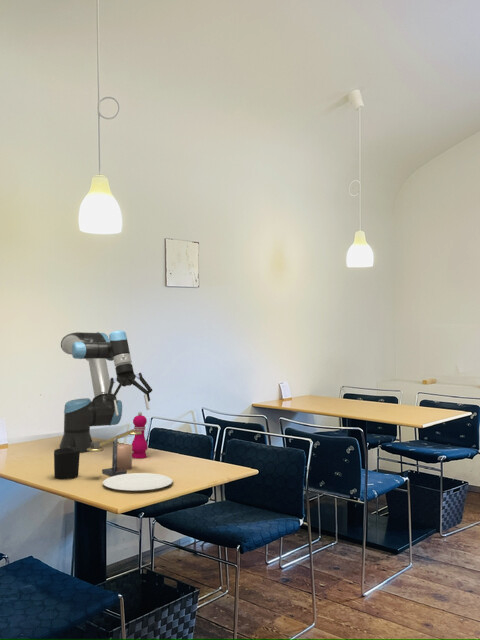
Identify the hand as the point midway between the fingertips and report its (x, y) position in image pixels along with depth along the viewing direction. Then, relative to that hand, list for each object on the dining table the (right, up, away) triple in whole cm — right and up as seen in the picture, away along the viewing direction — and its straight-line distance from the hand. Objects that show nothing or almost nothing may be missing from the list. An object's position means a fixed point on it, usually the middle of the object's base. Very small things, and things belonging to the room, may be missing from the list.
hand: (132, 412), depth 258 cm
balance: (-2, -20, -27) cm, 34 cm away
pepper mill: (+2, -21, +5) cm, 21 cm away
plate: (+9, -20, -42) cm, 48 cm away
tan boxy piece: (-1, -20, -17) cm, 26 cm away
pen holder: (-19, -20, -32) cm, 43 cm away
